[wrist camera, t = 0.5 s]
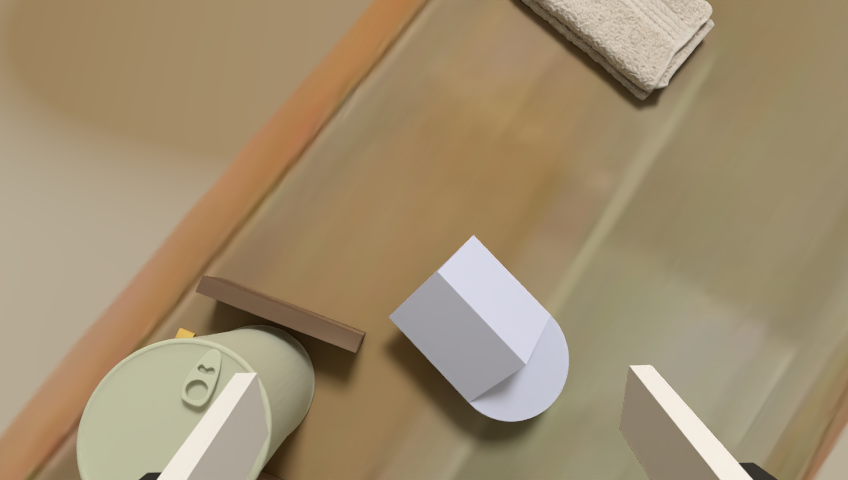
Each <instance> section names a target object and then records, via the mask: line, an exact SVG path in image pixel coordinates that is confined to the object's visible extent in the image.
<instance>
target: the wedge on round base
mask: <svg viewBox="0 0 848 480" xmlns="http://www.w3.org/2000/svg"><path fill="white" fill-rule="evenodd" d="M389 318H390V319H391V320H392V321H393V322H394V323H395V324H396V325H397V327H398V328H399V329H400V330H401V331H402V332H403V333H404V334H405V335H406V336H407V337H408V338H409V339H410V340H411V341H412V343H413V344H414V345H415V346H416V347H417V348H418V349H419V350H420V351H421V352H422V353H423V354H424V355H425V356H426V358H427V359H428V360H429V361H430V362H431V363H432V364H433V365H434V366H435V367H436V368H437V369H438V370H439V371H440V373H441V374H442V375H443V376H444V377H445V378H446V379H447V380H448V381H449V382H450V383H451V384H452V385H453V386H454V387H455V389H456V390H457V391H458V392H459V393H460V394H461V395H462V396H463V397H464V398H465V399H466V400H467V401H468V402H469V403H470V404H471V405H472V406H473V407H474V408H475V409H476V410H478V411H479V412H481V413H482V414H484V415H486V416H488V417H491V418H493V419H496V420H501V421H513V422H514V421H522V420H526V419H530V418H532V417H534V416H536V415H538V414H540V413H541V412H543V411H545V410H546V409H547V408H548V407H549V406H550V405H551V404H552V403H553V402H554V401H555V400H556V399H557V397H558V396H559V394H560V393H561V390H562V388H563V386H564V384H565V381H566V378H567V373H568V367H569V355H568V348H567V343H566V340H565V337H564V335H563V333H562V331H561V328H560V327H559V325H558V324H557V322H556V321H555V320H554V318H553V317H552V316H551V315H550V314H549V313H548V312H547V311H546V310H545V309H544V308H543V307H542V306H541V305H540V304H539V303H538V302H537V300H536V299H535V298H534V297H533V296H532V295H531V294H530V293H529V292H528V291H527V290H526V289H525V288H524V287H523V286H522V285H521V284H520V283H519V282H518V281H517V280H516V279H515V278H514V277H513V276H512V275H511V274H510V273H509V271H508V270H507V269H506V268H505V267H504V266H503V265H502V264H501V263H500V262H499V261H498V260H497V259H496V258H495V257H494V256H493V255H492V254H491V253H490V252H489V251H488V250H487V249H486V248H485V247H484V246H483V245H482V244H481V243H480V241H479V240H478V239H477V238H476V237H475V236H474V235H473V236H472V237H471V238H470V239H469V240H468V241H467V242H466V243H465V244H464V245H463V246H462V247H461V248H460V249H459V250H458V251H456V252H455V253H454V254H453V255H452V256H451V257H450V258H449V259H448V260H447V261H446V262H445V263H444V264H443V265H442V266H441V267H440V268H439V269H438V270H437V271H436V272H435V273H434V274H433V275H432V276H431V277H429V278H428V279H427V280H426V281H425V282H424V283H423V284H422V285H421V286H420V287H419V288H418V289H417V290H416V291H415V292H414V293H413V294H412V295H411V296H410V297H409V298H408V299H407V300H406V301H405V302H404V303H402V304H401V305H400V306H399V307H398V308H397V309H396V310H395V311H394V312H393V313H392V314H391V315H390V316H389Z"/></svg>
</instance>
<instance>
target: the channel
mask: <svg viewBox="0 0 848 480" xmlns="http://www.w3.org/2000/svg"><path fill="white" fill-rule="evenodd" d="M196 292H198V293H200V294H203V295H205V296H208V297H211V298H213V299H216V300H218V301H221V302H224V303H226V304H229V305H232V306H234V307H237V308H239V309H242V310H245V311H247V312H250V313H252V314H255V315H258V316H260V317H263V318H265V319H268V320H271V321H273V322H276V323H279V324H281V325H284V326H286V327H289V328H292V329H294V330H297V331H299V332H302V333H305V334H307V335H310V336H312V337H315V338H318V339H320V340H323V341H326V342H328V343H331V344H333V345H336V346H339V347H341V348H344V349H346V350H349V351H352V352H354V353H356V352H357V350H358V349H359V347H360V345H361V343H362V340H363V338H364V335H365V332H363V331H360V330H358V329H355V328H352V327H350V326H347V325H345V324H342V323H339V322H337V321H334V320H332V319H329V318H326V317H324V316H321V315H319V314H316V313H313V312H311V311H308V310H306V309H303V308H300V307H298V306H295V305H293V304H290V303H287V302H285V301H282V300H280V299H277V298H274V297H272V296H269V295H267V294H264V293H261V292H259V291H256V290H254V289H251V288H248V287H246V286H243V285H241V284H238V283H235V282H233V281H230V280H228V279H223V278H216V277H209V276H203V277H202V279H201V281H200V283H199V285H198V287H197V289H196ZM195 335H196V333H193V332H190V331H188V330H185V329H182V328H180V329H179V331H178V333H177V335H176V337H175V339H177V338H193V337H195ZM256 480H284V479H281V478H278V477H276V476H273V475H270V474H267V473H265V472H262V471H261V472H260V474H259V476H258V477H257V479H256Z"/></svg>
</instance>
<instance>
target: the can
mask: <svg viewBox="0 0 848 480" xmlns="http://www.w3.org/2000/svg"><path fill="white" fill-rule="evenodd" d="M235 373H257V375H258V380H259V385H260V391H261V396H262V401H263V407H264V412H265V417H266V423H267V428H268V433H269V435H268V437H267V439H266V441H265V443H264V445H263V447H262V449H261V451H260V453H259V455H258V457H257V459H256V461H255V463H254V465H253V467H252V469H251V471H250V473H249V475H248V477H247V479H246V480H256V479H257V477H258V476H259V474H260V472H261V470H262V469H263V468H264V466H265V465H266V463H267V462H268V461H269V459H270V458H271V457H272V455H273V454H274V453H275V451H276V450H277V449H278V448H279V446H280V445H281V444H282V442H283V441H284V440H285V438H286V437H287V436H288V435H289V434H290V433H292V432H293V431H294V430H295V429H296V428H297V427H298V425H299V424H300V423H301V422H302V420H303V419H304V417H305V415H306V414H307V412H308V410H309V407H310V405H311V402H312V399H313V395H314V388H315V376H314V369H313V365H312V362H311V359H310V357H309V355H308V353H307V351H306V350H305V348H304V347H303V346H302V344H301V343H300V342H299V341H298V340H297V339H296V338H295V337H293V336H292V335H291V334H289V333H287V332H286V331H284V330H281V329H279V328H276V327H272V326H267V325H249V326H244V327H240V328H237V329H234V330H232V331H229V332H223V333H218V334H212V335H206V336H200V337H193V338H177V339H170V340H165V341H161V342H157V343H154V344H151V345H149V346H146V347H144V348H142V349H140V350H138V351H136V352H134V353H133V354H131V355H130V356H128V357H127V358H125V359H124V360H122V361H121V362H120V363H119V364H117V365H116V366H115V367H114V368H113V369H112V370H111V371H110V372H109V373H108V374H107V375H106V376H105V377H104V378H103V380H102V381H101V382H100V383H99V385H98V386H97V387H96V389H95V390H94V392H93V394H92V395H91V397H90V399H89V401H88V403H87V405H86V407H85V410H84V412H83V415H82V418H81V421H80V425H79V430H78V436H77V462H78V468H79V472H80V476H81V479H82V480H139V479H140V478H141V477H143V476H144V475H145V474H146V473H149V472H163V471H164V469H165V468H166V467H167V465H168V464H169V462H170V461H171V460H172V458H173V457H174V456H175V454H176V453H177V452H178V450H179V449H180V448H181V446H182V445H183V444H184V442H185V441H186V440H187V438H188V437H189V435H190V434H191V433H192V431H193V430H194V429H195V427H196V426H197V425H198V423H199V422H200V421H201V419H202V418H203V417H204V415H205V414H206V413H207V411H208V410H209V408H210V407H211V406H212V404H213V403H214V402H215V400H216V399H217V398H218V396H219V395H220V394H221V392H222V391H223V390H224V388H225V387H226V386H227V384H228V383H229V382H230V380H231V379H232V377H233V376H234V375H235Z"/></svg>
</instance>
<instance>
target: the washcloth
mask: <svg viewBox="0 0 848 480" xmlns="http://www.w3.org/2000/svg"><path fill="white" fill-rule="evenodd" d="M521 1H522V2H523V3H525V4H526V5H527V6H529V7H530V8H531V9H533V11H534V12H535V13H536V14H538V15H539V16H541V17H542V18H543V19H544V20H546V21H548V22H549V25H552V26H553V27H554V28H555V29H556V30H557V31H558V32H559V33H560V34H563V35H564V36H565V37H566V39H567V40H569V41H570V42H572V43H573V44H574V45H577V46H578V47H579V49H581V50H582V51H584V52H586V53H587V54H588V56H590V57H591V58H592V59H593V60H594V61H595V62H598V63H599V64H600V65H601V66H603V67H604V68H605V69H606V71H607V72H609V73H610V74H612V76H613V77H614V78H616V79H617V80H618V81H620V82H621V83H622V85H623V86H625V87H626V88H627V89H628V90H629V91H630V92H632V93H633V94H634V95H635V96H636V97H637V98H639V99H640V100H644V99H645V98H646V97H648V96H649V95H650V94H651V93H652V92H653V91H654V90H655V89H658V88H664V87H668V83H669V80H670V78H671V77H672V75H673V74H674V73H675V71H676V70H677V69H678V68H679V67H680V66H681V65H682V63H683V62H684V61H685V60H686V58H687V57H688V56H689V55H690V54H691V52H692V51H693V50H694V49H695V47H696V46H697V45H698V44H699V43H700V42H701V40H702V39H703V38H704V37H705V35H706V34H707V33H708V32H709V31H710V29H711V28H712V27H713V26H714V23H713V21H712V20H711V19H709V17H710V15H711V14H712V7H711V5H710V4H709V3H708V2H706V1H704V0H521Z"/></svg>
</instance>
